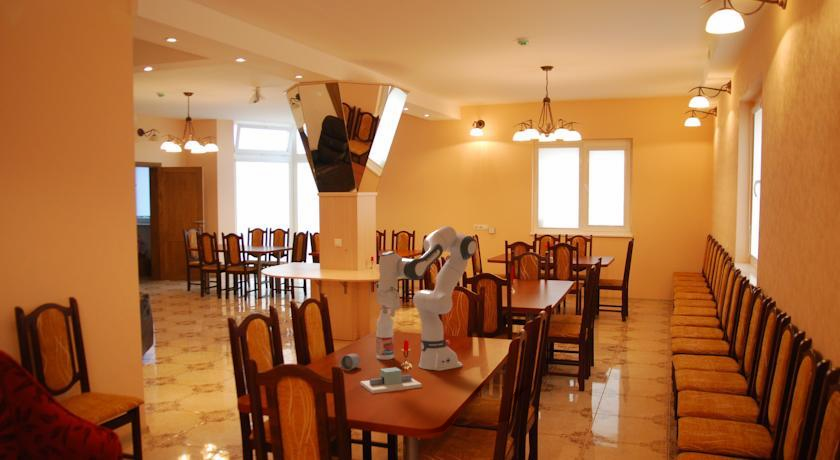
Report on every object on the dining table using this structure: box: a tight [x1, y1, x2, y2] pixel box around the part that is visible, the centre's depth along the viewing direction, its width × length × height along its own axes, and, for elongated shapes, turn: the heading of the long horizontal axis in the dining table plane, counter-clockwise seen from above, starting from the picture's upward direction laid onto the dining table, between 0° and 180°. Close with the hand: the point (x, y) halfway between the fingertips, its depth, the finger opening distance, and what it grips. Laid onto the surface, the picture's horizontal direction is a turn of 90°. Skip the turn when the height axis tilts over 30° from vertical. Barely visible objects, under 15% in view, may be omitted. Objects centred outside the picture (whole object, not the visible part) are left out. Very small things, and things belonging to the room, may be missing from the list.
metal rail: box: [369, 373, 413, 386], centre depth 314 cm, size 20×2×2 cm, turn 115°
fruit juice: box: [375, 306, 395, 361], centre depth 368 cm, size 9×9×28 cm
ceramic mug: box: [338, 353, 361, 371], centre depth 347 cm, size 11×8×8 cm
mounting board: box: [359, 378, 423, 394], centre depth 314 cm, size 24×16×2 cm, turn 115°
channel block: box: [379, 366, 403, 385], centre depth 314 cm, size 8×6×6 cm
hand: (388, 315), depth 323 cm, fingers open, 8 cm apart
